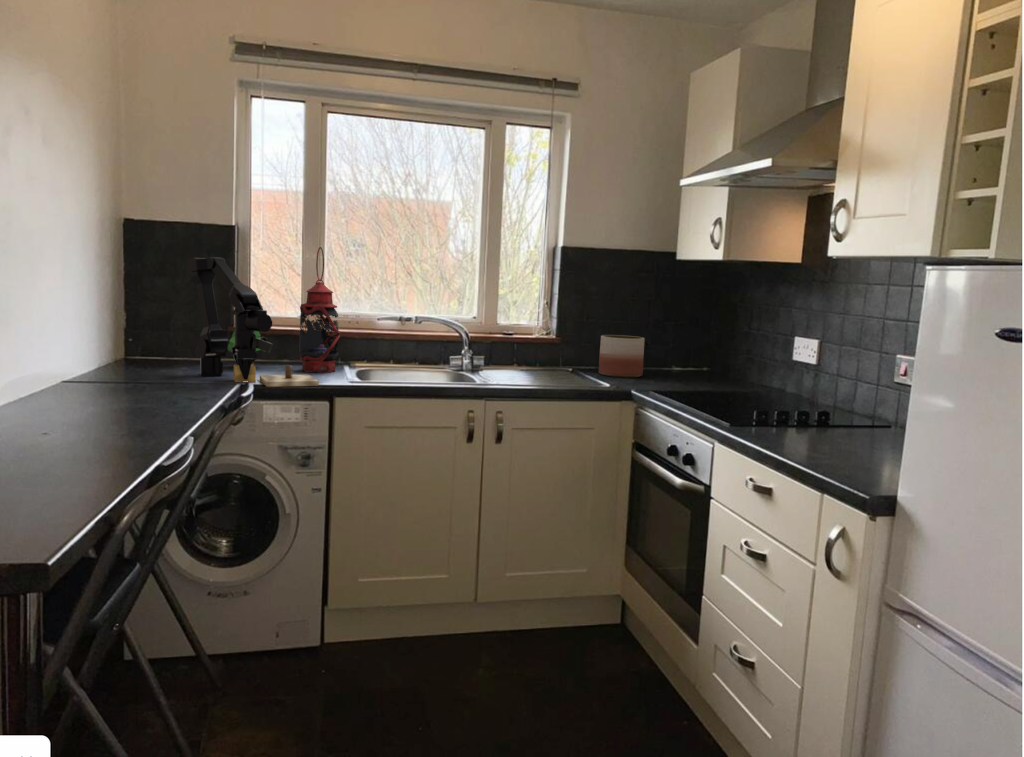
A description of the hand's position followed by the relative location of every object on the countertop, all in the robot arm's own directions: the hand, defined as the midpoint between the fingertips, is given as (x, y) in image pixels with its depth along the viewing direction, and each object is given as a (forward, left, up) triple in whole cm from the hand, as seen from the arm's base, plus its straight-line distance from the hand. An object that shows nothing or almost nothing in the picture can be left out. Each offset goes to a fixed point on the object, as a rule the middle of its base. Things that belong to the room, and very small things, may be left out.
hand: (244, 378), depth 248 cm
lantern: (+29, +25, -1) cm, 38 cm away
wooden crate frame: (0, 0, -1) cm, 1 cm away
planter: (+145, +1, -1) cm, 145 cm away
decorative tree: (+5, +36, -1) cm, 36 cm away
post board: (+13, -5, -1) cm, 14 cm away
